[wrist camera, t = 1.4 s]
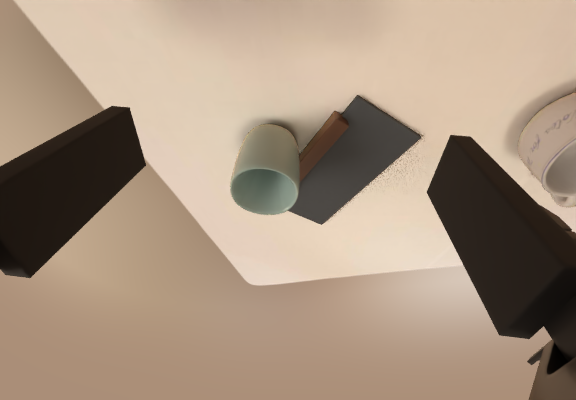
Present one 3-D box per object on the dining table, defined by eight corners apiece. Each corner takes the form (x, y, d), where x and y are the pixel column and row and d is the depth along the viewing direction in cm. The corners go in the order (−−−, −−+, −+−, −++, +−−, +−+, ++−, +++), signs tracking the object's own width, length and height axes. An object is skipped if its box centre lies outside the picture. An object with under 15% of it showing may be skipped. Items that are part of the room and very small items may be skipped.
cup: (294, 166, 42) (291, 220, 35) (241, 157, 41) (228, 210, 34) (306, 120, 36) (306, 173, 29) (245, 108, 35) (230, 161, 28)
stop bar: (273, 188, 45) (272, 196, 44) (334, 110, 35) (335, 118, 33) (284, 192, 46) (283, 201, 45) (347, 118, 35) (349, 126, 34)
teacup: (534, 79, 31) (583, 119, 25) (647, 70, 30) (723, 110, 24) (483, 174, 41) (510, 217, 36) (565, 170, 40) (606, 214, 34)
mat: (270, 201, 47) (269, 203, 47) (357, 94, 33) (358, 96, 33) (321, 222, 51) (321, 224, 51) (420, 135, 37) (421, 137, 36)
